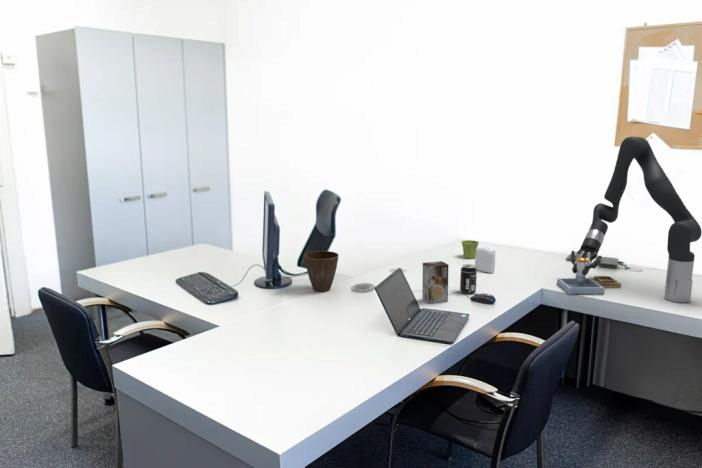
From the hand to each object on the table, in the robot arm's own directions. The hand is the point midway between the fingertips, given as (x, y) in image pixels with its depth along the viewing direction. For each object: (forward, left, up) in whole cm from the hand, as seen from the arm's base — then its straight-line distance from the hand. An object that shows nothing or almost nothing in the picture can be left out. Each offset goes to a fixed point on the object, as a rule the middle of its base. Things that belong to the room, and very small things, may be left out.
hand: (579, 273), depth 250 cm
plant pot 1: (+3, +113, -8) cm, 113 cm away
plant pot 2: (+59, +36, -8) cm, 70 cm away
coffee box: (-13, +65, -8) cm, 66 cm away
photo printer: (+32, +34, -8) cm, 47 cm away
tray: (+1, -1, -8) cm, 8 cm away
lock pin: (+1, -1, -6) cm, 6 cm away
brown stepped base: (+8, -15, -8) cm, 19 cm away
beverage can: (-2, +49, -8) cm, 49 cm away
